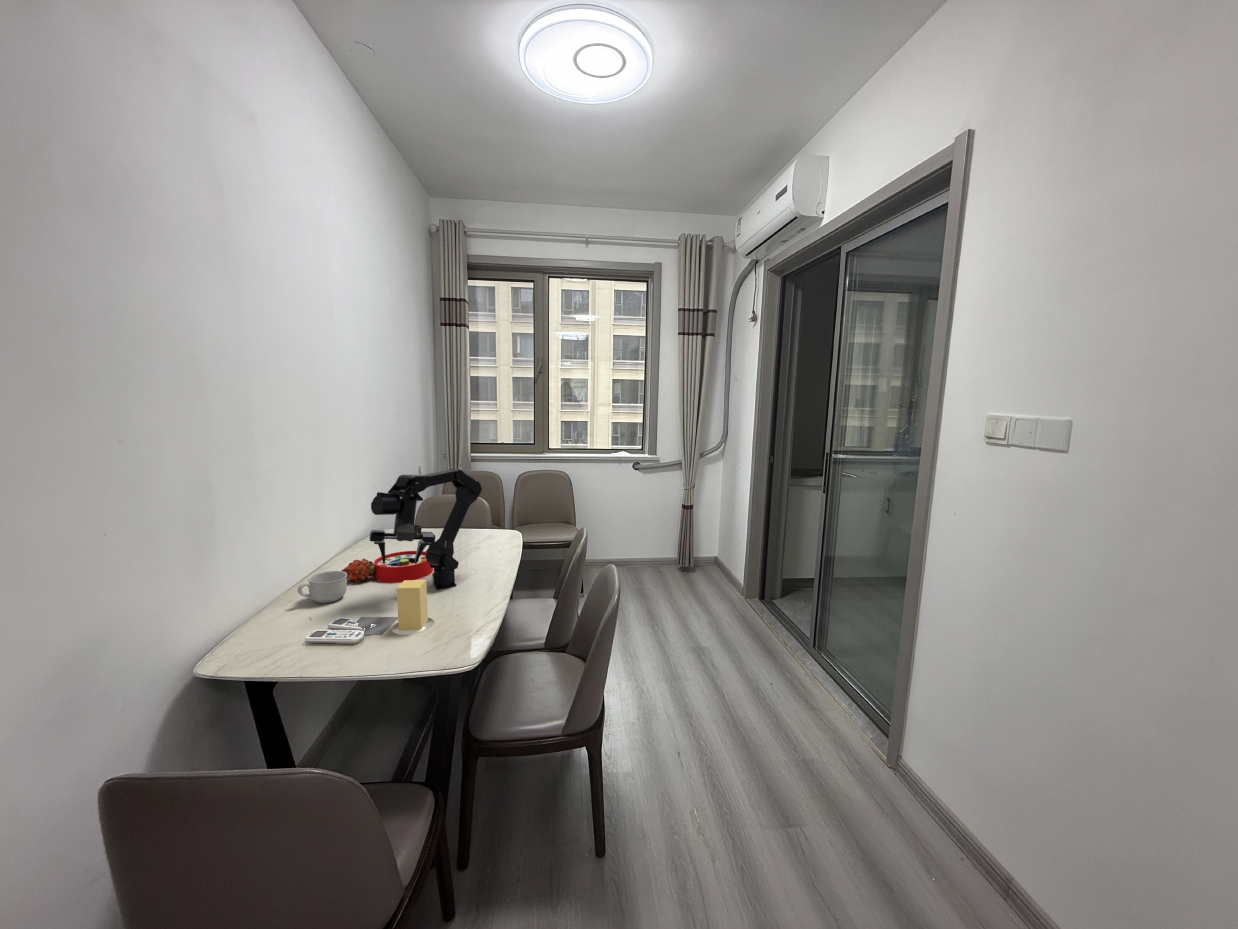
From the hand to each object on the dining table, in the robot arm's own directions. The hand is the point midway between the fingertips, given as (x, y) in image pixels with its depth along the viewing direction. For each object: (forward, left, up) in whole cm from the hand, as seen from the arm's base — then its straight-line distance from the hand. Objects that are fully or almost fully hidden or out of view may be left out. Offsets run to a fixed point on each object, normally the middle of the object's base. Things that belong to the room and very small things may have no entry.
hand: (399, 563), depth 152 cm
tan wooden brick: (0, +22, -11) cm, 25 cm away
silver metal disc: (0, +22, -12) cm, 25 cm away
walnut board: (+5, +19, -13) cm, 24 cm away
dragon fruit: (+10, -28, -13) cm, 32 cm away
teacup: (+21, -14, -13) cm, 28 cm away
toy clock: (-5, -28, -13) cm, 31 cm away
